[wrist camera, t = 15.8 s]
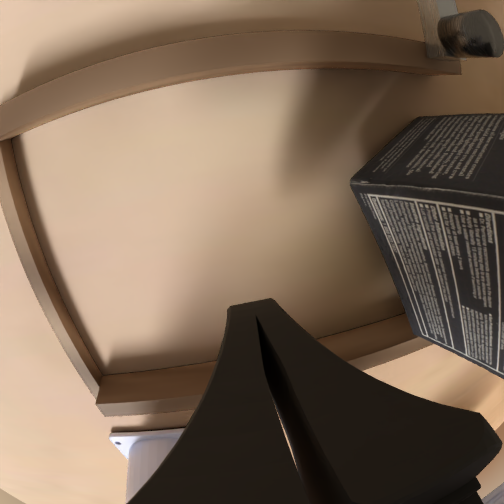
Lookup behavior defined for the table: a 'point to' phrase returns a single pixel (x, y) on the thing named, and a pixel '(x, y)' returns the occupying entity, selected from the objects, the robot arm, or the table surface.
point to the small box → (444, 229)
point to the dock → (165, 74)
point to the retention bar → (458, 32)
